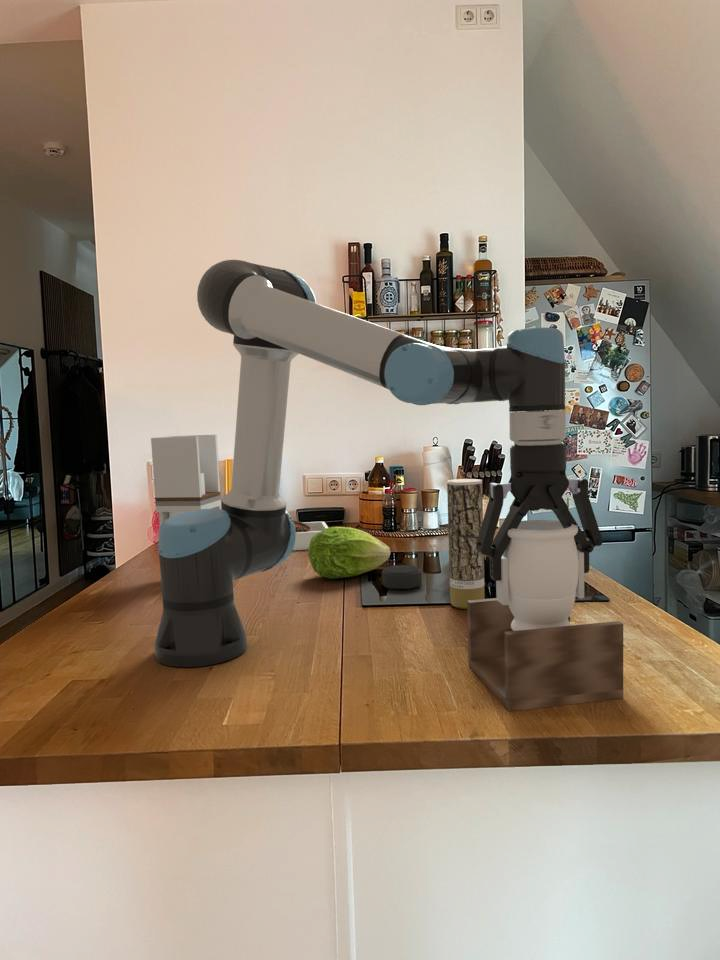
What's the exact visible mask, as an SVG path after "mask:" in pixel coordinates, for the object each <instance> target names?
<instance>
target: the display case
mask: <svg viewBox="0 0 720 960" xmlns="http://www.w3.org/2000/svg"><path fill="white" fill-rule="evenodd" d="M150 445H151V458H152V471H153V485H154V486H153V490H154V501H155V512H156V513H158V520H159V523H158V524H159V527H160V526H161V524H162V523H163V522H164V521H165V520H167V519H168V518H170V517H173V516H175V515H178V514H181V513H185V512H189V511H196V510H201V509H221V506H222V498H221V483H220V482H221V481H220V465H219V451H218V449H219V448H218V446H219V445H218V435H217V434H193V435H190V434H189V435H169V436H160V437H150ZM160 586H161V588H162V584H161V583H160Z"/></svg>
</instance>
